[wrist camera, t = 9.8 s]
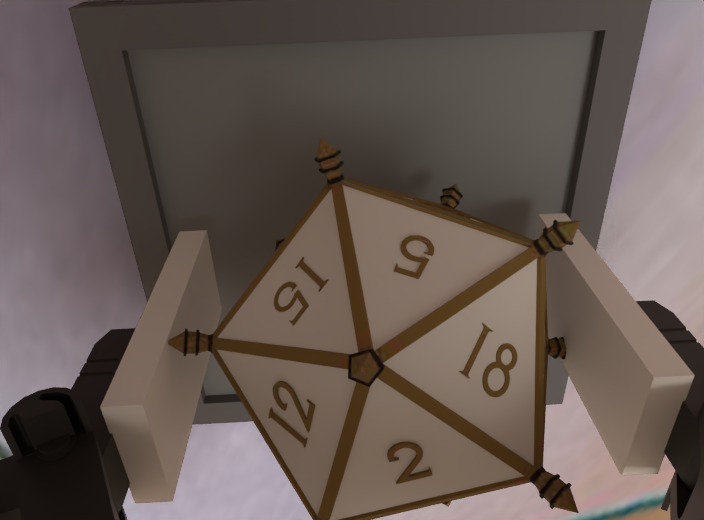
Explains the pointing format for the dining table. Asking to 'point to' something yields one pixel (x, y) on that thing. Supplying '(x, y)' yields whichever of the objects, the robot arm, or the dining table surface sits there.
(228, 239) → the mat
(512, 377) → the game die
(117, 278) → the dining table surface
